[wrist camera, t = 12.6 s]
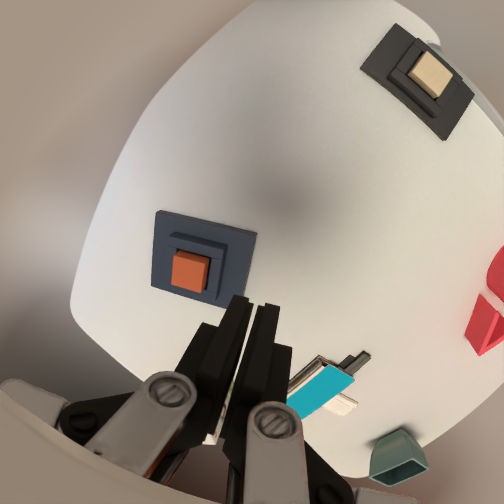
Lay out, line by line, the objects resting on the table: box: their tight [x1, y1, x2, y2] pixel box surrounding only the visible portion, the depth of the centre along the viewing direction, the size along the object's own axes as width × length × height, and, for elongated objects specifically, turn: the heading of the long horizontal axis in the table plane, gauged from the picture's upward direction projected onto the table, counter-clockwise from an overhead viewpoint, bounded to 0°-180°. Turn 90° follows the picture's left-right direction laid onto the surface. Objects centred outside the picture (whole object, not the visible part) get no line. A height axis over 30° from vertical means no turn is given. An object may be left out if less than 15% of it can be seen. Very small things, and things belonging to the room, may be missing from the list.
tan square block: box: [408, 51, 453, 98], centre depth 20 cm, size 4×4×2 cm
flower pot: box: [369, 429, 429, 487], centre depth 37 cm, size 9×9×9 cm
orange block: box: [171, 250, 210, 293], centre depth 31 cm, size 4×4×2 cm
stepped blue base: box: [151, 210, 257, 309], centre depth 33 cm, size 12×10×3 cm
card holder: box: [286, 351, 371, 419], centre depth 38 cm, size 20×12×2 cm, turn 146°
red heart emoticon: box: [465, 246, 504, 356], centre depth 27 cm, size 14×10×5 cm
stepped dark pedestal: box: [360, 23, 475, 141], centre depth 22 cm, size 12×8×2 cm, turn 55°
